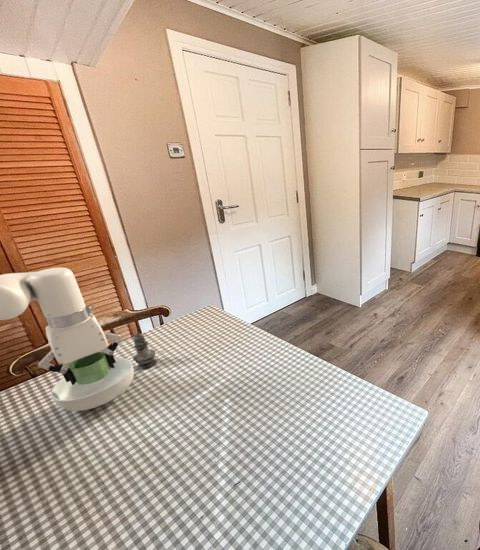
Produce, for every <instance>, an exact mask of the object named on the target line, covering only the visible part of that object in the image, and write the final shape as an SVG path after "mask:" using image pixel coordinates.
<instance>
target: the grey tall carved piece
mask: <svg viewBox="0 0 480 550" xmlns="http://www.w3.org/2000/svg"><path fill="white" fill-rule="evenodd" d="M132 340H133V343H134V346H133V348H134V349H135V350H136V354H134V356H133V357H132V359H133V361H135V363H137V370H141V371H142V370H147V368H148V369H151V368H152V367H154V366H155V365H157V363H158V360H157V359H156V358H155V356H156V350H154V349H150V348H149V346H148V345H149V342H148V341H147V340H146V338H145V335H144V334H143V333H139V332H136V333H135V335H134V336H133V337H132Z"/></svg>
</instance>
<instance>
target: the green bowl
mask: <svg viewBox="0 0 480 550" xmlns="http://www.w3.org/2000/svg"><path fill="white" fill-rule="evenodd" d="M68 368H69V370H70V372H71V374H72V376H73V379H74V381H75V383H76V384H79V385H85V384H90V383H94V382H97V381H99V380H101V379H102V378H104V377H105V376H106V375H108V374H109V372H110V371H111V368H110V365H109V363H108V360H107V358H106V355H105V353H104V352H102V351H99V352H97V353H94V354H92V355H89V356H86V357H84V358H81V359H78V360H76V361H73V362H70V364H69V367H68Z"/></svg>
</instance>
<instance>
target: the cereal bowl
mask: <svg viewBox="0 0 480 550" xmlns="http://www.w3.org/2000/svg"><path fill="white" fill-rule="evenodd" d="M114 359H115V361H116V363H113V365H114V367H115V368H111V367H110V368H111V371H110V372H109V374H108V375H106V376H105V377H104V378H102V379H101V380H99V381H97V382H94V383H90V384H85V385H79V384H76V383H75V384H74V385H72V384H71V381H69V382H66V380H65V378H64V377H62V378H61V379H60V380H58V382H56V384H55V385H54V386H53V388H52V389H51V392H50V396H51V398H52V400H53V402H54V403H55V405H57V406H58V407H59V408H61V409H63V410H66V411H70V412H71V411H72V412H81V411H87V410H91V409H95V408H97V407H100V406H103V405H106V404H107V403H110V402H111V401H112V400H115V399H116V398H117V397H119V396H121V395H122V394H123V393H124V392H125V391H126V390H127V389H128V388H129V386H130V385H131V383H132V382H133V380H134V376H135V370H134V369H135V368H134V365H133V363H132V361H131V360H130V359H127V358H124V357H114Z"/></svg>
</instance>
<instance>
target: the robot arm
mask: <svg viewBox="0 0 480 550" xmlns="http://www.w3.org/2000/svg"><path fill="white" fill-rule="evenodd" d="M33 301H35V302H37V303H38V305H39V307H40V309H41V311H42V314H43V316H44V318H45V320H46V322H47V326H46V327H45V335H46V338H47V341H48V344H49V347H50V349H51V350H50V351H49V352H48V353H47V354H46V355H45V356H44V357H43V358H42V359H41V360H40V361H39V362H38V363H37V366H38V368H39V369H43V370H47V371H49V372H54V373H58V374H61V375H62V376H63V378H65V380H66V382H69V381H71V384H72V385H74V384H75V381H74V379H73V376H72V374H71V372H70V370H69V368H68V367H69V364H70V362H73V361H76V360H78V359H81V358H84V357H86V356H89V355H92V354H94V353H97V352H99V351H101V352H104V353H105V355H106V358H107V360H108V363H109V365H110V367H111V368H115V367H114V365H113V363H116V361H115V359H114V358H115V356H114V354H115V351H116V349H117V348H118V347H119V343H120V342H121V340H122V337H123V336H122V335H121V334H118V333H111V332H104V330H103V328H102V327H101V324H100V323H99V321H98V319H97V318H96V316H95V315H94V314H93V312H94V311H96V307H95V305H87V304H86V301H85V300H84V297H83V295H82V292H81V290H80V287H79V283H78V282H77V279H76V277H75V274H74V272H73V271H72V270H71V269H69V268H67V267H51V268H46V269H42V270H38V271H29V272H12V273H4V274H3V273H2V274H0V321H6V320H7V321H8V320H11V319H14V318H17V317H18V316H20V315H22V314H23V313H24V312H25V311H26V310H27V309H28V307H29V305H30V303H31V302H33ZM108 340H112V341H111V342H110V344H109V343H108ZM54 358H55V360H56V361H57V363H58V364H55V363H51V361H52V360H54Z"/></svg>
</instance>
